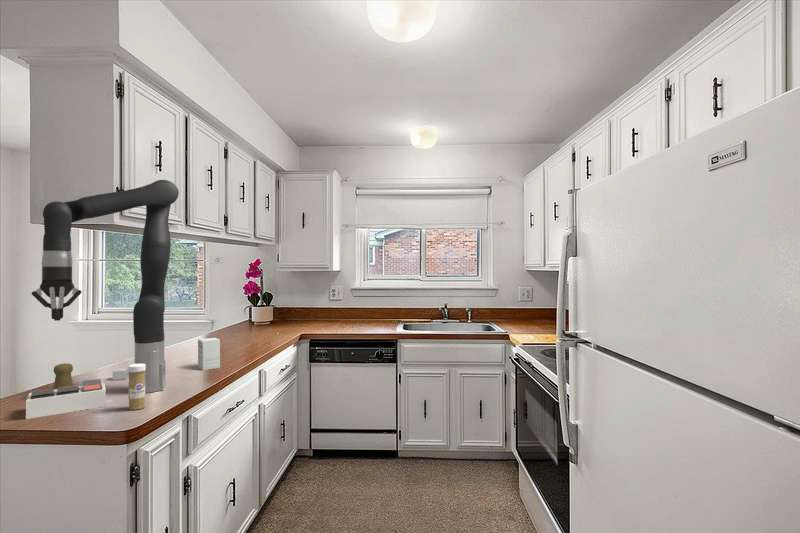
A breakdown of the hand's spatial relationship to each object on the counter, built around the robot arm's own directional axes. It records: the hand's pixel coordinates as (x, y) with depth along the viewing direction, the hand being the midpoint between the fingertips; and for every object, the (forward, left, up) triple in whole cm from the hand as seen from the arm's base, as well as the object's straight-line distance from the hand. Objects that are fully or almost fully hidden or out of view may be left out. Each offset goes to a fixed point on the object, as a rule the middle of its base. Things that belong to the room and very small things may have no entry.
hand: (57, 320), depth 137 cm
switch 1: (+2, +6, -22) cm, 23 cm away
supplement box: (-42, -40, -27) cm, 64 cm away
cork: (+2, -12, -27) cm, 30 cm away
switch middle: (-4, +4, -22) cm, 23 cm away
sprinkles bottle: (-24, +12, -27) cm, 38 cm away
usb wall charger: (-12, -32, -27) cm, 44 cm away
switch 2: (-10, +3, -22) cm, 24 cm away
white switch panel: (-4, +4, -27) cm, 28 cm away
